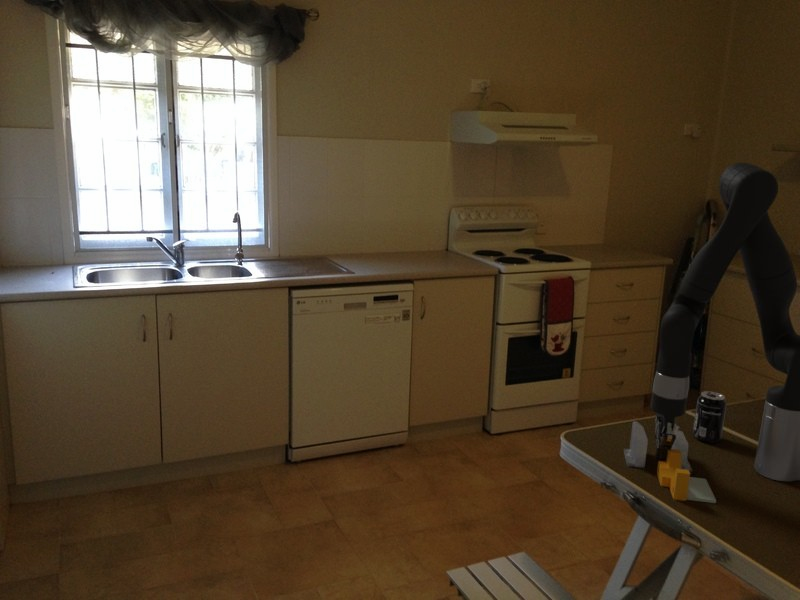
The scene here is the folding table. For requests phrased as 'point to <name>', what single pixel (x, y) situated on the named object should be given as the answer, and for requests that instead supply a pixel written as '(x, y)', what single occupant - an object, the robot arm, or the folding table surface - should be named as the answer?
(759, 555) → the folding table surface
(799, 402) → the robot arm
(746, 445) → the folding table surface
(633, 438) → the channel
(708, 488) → the pad
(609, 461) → the folding table surface
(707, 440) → the beverage can
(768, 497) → the folding table surface
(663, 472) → the pipe clamp
